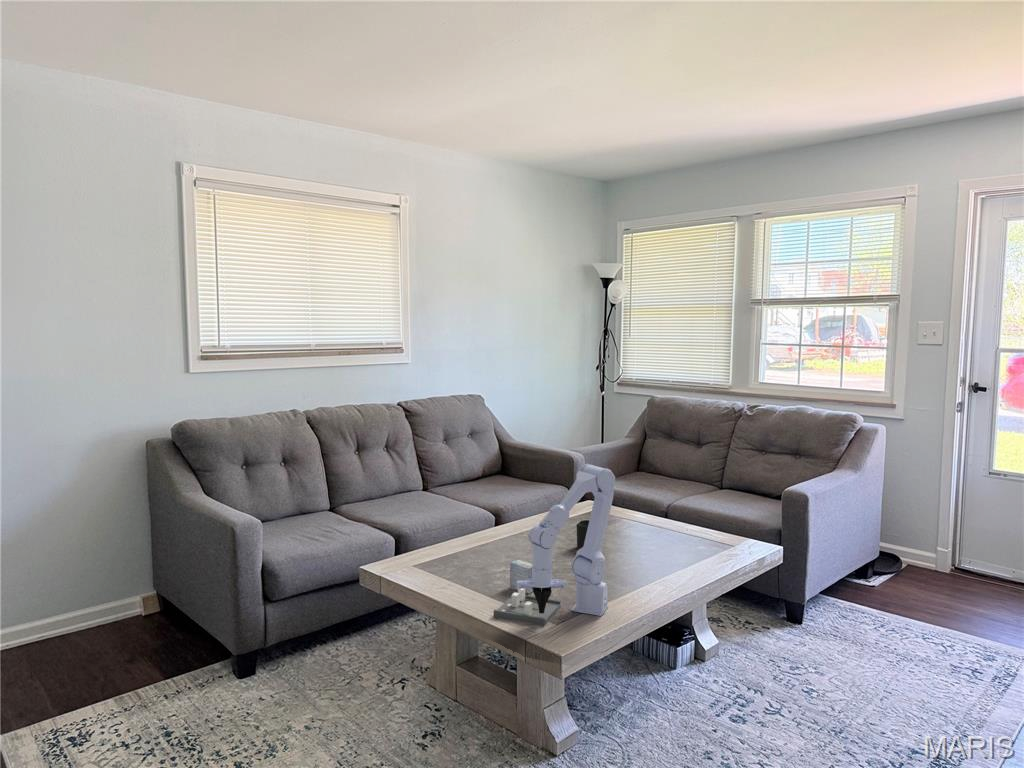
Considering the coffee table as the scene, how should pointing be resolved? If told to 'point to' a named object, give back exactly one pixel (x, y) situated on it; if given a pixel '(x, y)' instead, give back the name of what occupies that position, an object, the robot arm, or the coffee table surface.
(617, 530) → the coffee table surface
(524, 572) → the medicine box
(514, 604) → the block
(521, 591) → the breaker
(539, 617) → the breaker panel
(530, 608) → the block
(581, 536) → the pen holder
